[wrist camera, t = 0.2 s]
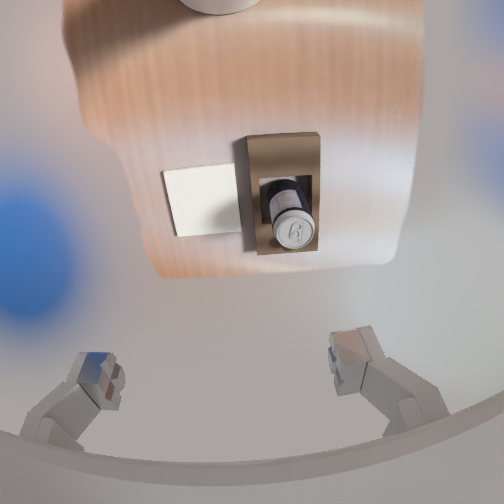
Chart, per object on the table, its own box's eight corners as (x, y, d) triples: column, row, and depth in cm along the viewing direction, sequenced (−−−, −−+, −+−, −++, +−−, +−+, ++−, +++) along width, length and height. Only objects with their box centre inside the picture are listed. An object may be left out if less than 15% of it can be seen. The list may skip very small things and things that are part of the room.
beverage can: (263, 206, 51) (269, 248, 41) (270, 174, 48) (278, 210, 38) (297, 211, 52) (310, 253, 42) (305, 180, 48) (322, 217, 39)
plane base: (246, 135, 44) (247, 143, 40) (316, 132, 44) (323, 139, 40) (256, 246, 55) (257, 262, 52) (314, 242, 55) (319, 257, 52)
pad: (164, 170, 46) (163, 172, 46) (233, 161, 46) (233, 163, 46) (178, 234, 53) (177, 236, 53) (241, 228, 53) (241, 231, 53)
